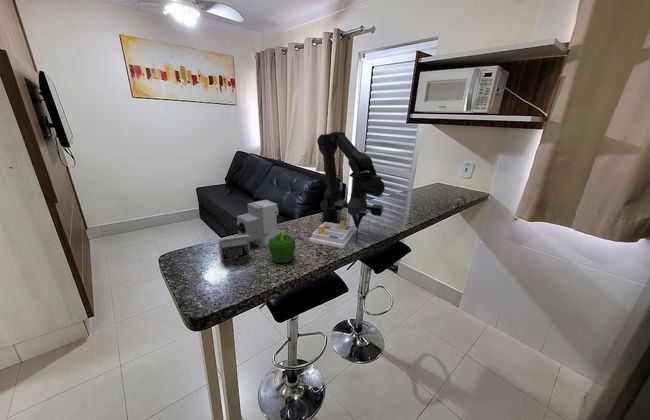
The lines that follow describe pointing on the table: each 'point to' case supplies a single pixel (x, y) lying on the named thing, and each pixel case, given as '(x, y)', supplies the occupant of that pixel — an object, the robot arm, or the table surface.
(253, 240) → the circuit breaker
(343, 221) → the far tab
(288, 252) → the bell pepper
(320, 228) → the near tab
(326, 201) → the robot arm
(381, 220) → the table surface
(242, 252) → the electrical switch
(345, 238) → the switch bank
